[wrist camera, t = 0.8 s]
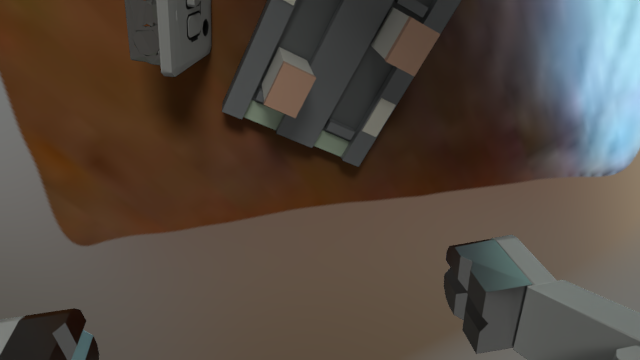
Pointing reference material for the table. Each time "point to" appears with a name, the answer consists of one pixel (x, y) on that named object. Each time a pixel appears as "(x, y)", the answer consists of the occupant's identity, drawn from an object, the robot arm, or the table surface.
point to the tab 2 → (404, 41)
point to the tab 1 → (287, 83)
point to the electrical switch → (169, 32)
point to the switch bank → (330, 70)
